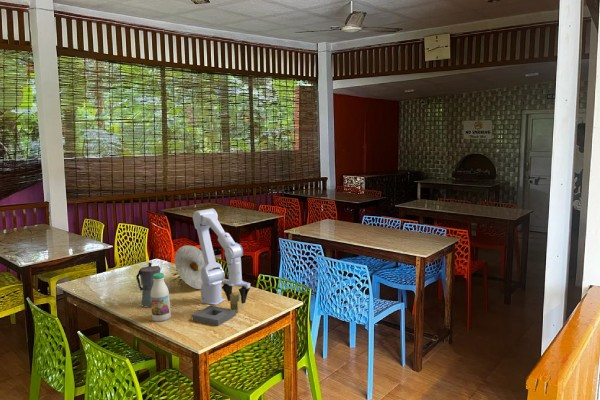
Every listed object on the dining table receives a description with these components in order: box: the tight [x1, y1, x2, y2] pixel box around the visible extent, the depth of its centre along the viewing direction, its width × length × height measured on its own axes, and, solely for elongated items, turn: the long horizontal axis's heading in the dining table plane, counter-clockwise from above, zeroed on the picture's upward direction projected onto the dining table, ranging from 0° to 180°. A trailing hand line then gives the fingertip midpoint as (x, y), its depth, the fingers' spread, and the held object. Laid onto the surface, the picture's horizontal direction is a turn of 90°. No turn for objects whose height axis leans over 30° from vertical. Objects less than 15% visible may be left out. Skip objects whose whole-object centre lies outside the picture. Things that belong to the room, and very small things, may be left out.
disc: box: [169, 244, 214, 290], centre depth 247 cm, size 25×18×25 cm
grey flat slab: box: [191, 304, 237, 327], centre depth 202 cm, size 14×12×2 cm
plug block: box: [229, 291, 244, 314], centre depth 209 cm, size 4×4×8 cm
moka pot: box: [135, 262, 161, 308], centre depth 219 cm, size 10×15×20 cm, turn 161°
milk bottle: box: [150, 272, 172, 322], centre depth 202 cm, size 8×8×20 cm
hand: (236, 301), depth 209 cm, fingers open, 7 cm apart
